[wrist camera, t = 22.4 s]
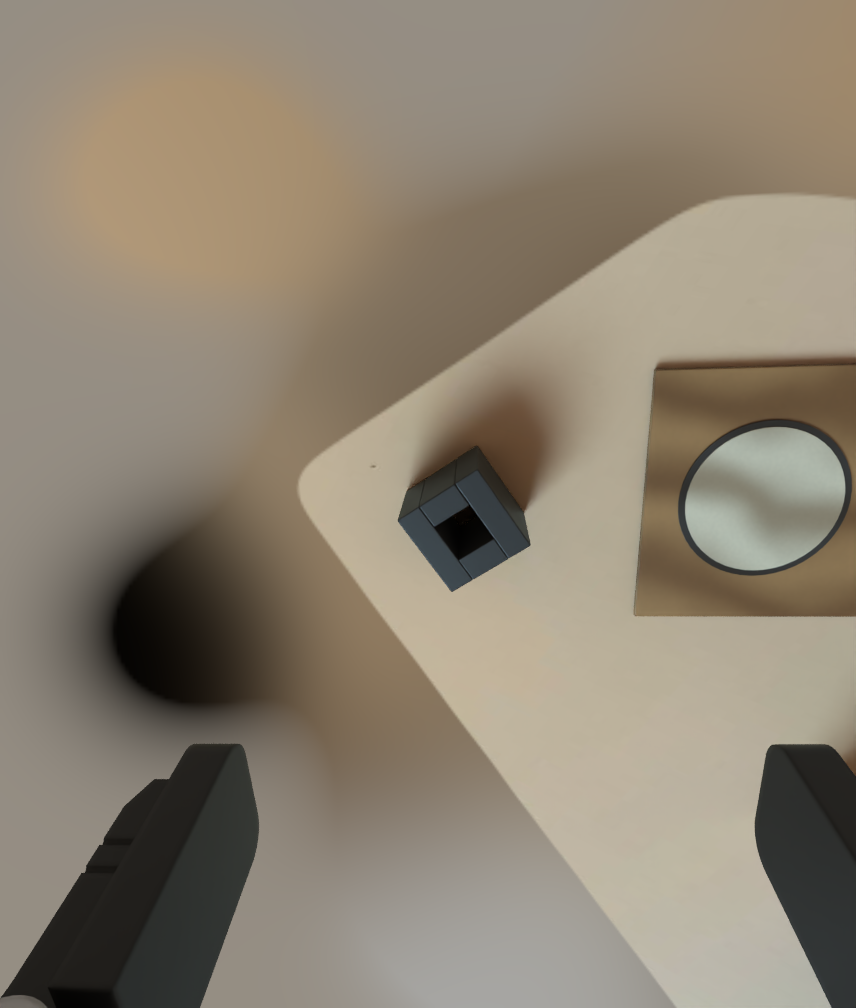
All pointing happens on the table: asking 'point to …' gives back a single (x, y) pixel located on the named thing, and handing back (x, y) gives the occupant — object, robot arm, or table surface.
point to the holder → (476, 541)
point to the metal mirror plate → (750, 493)
